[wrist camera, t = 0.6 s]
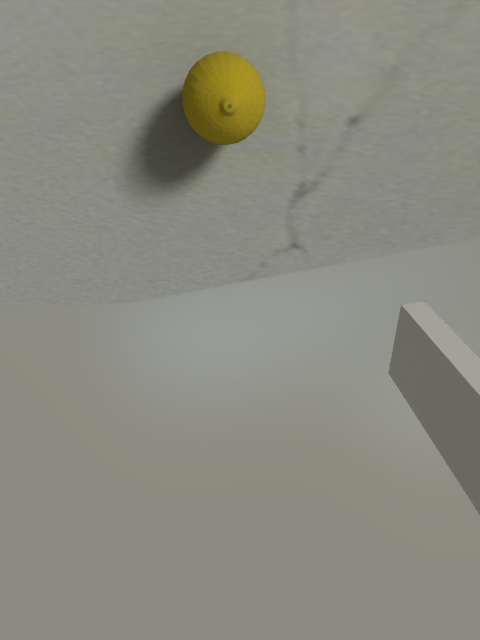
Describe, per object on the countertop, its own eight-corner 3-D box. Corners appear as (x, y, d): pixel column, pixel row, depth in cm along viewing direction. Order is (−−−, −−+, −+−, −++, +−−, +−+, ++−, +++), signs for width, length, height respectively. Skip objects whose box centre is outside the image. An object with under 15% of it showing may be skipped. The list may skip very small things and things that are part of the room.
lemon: (205, 148, 34) (211, 171, 27) (167, 76, 31) (164, 82, 24) (267, 112, 33) (289, 127, 27) (235, 35, 30) (250, 30, 24)
